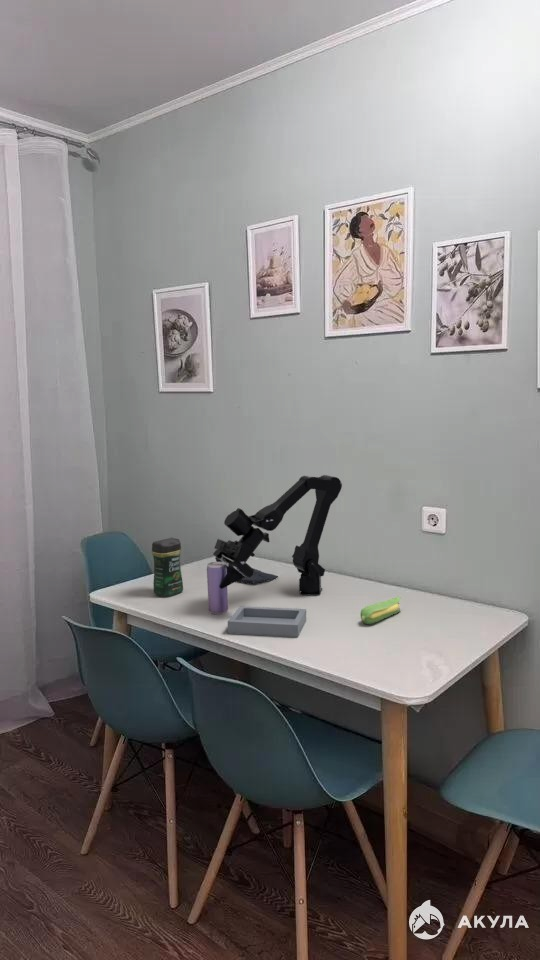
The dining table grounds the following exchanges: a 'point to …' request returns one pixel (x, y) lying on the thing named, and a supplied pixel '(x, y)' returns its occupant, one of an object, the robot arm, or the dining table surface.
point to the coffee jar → (167, 567)
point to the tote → (267, 621)
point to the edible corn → (380, 610)
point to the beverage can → (217, 588)
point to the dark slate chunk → (258, 577)
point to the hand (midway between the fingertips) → (216, 585)
